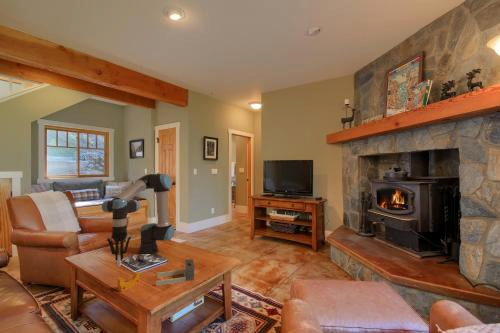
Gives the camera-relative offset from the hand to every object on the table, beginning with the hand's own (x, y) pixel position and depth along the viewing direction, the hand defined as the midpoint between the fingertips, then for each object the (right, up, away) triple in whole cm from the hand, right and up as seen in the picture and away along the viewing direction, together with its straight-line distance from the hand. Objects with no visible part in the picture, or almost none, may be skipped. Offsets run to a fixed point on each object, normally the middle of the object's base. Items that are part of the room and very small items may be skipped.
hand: (119, 265), depth 140 cm
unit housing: (+39, -12, +13) cm, 42 cm away
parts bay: (+28, -12, +9) cm, 32 cm away
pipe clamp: (+6, -13, 0) cm, 14 cm away
